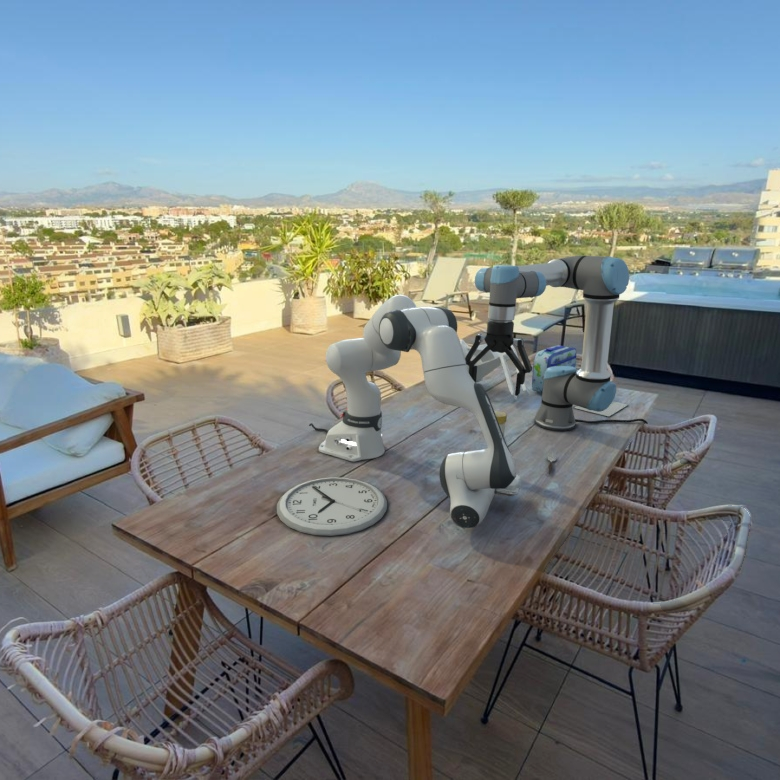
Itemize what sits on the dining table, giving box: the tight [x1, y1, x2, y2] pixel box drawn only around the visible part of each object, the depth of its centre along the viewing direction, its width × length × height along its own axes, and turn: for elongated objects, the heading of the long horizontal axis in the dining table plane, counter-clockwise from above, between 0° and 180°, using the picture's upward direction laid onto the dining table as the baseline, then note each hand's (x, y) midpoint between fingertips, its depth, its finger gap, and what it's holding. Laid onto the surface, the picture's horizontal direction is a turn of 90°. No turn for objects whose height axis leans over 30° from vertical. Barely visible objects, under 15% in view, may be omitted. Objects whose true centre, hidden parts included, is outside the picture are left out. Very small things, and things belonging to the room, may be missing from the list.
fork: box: [547, 449, 557, 475], centre depth 169 cm, size 3×16×2 cm, turn 160°
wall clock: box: [276, 476, 388, 537], centre depth 142 cm, size 30×2×30 cm
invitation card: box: [573, 400, 629, 418], centre depth 226 cm, size 21×1×15 cm
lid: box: [494, 410, 507, 424], centre depth 157 cm, size 5×5×2 cm
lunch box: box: [531, 345, 577, 393], centre depth 245 cm, size 26×11×21 cm, turn 134°
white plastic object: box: [459, 338, 531, 400], centre depth 245 cm, size 37×45×31 cm
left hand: (488, 467), depth 152 cm, fingers open, 8 cm apart
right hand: (494, 390), depth 157 cm, fingers open, 13 cm apart
